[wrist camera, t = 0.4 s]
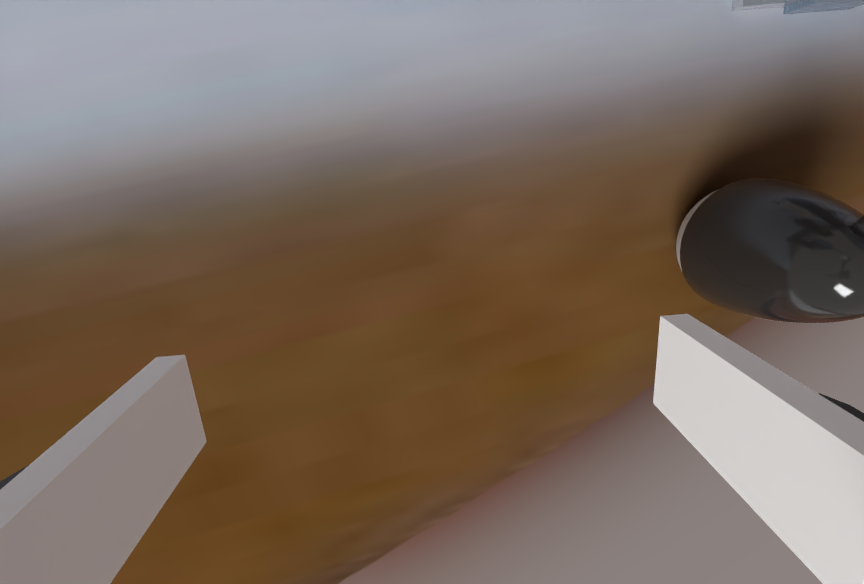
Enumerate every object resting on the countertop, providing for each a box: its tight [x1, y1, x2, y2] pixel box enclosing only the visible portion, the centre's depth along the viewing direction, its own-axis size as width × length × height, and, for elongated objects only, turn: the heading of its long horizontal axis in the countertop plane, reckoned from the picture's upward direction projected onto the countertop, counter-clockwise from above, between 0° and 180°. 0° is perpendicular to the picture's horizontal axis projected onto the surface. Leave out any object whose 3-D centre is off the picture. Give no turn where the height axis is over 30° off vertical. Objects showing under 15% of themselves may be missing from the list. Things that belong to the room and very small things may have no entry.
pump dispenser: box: [676, 178, 864, 323], centre depth 33 cm, size 10×10×15 cm
